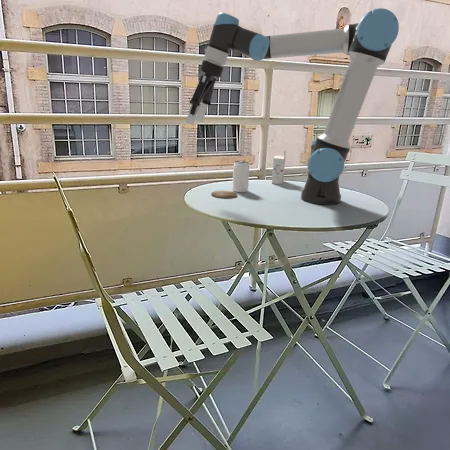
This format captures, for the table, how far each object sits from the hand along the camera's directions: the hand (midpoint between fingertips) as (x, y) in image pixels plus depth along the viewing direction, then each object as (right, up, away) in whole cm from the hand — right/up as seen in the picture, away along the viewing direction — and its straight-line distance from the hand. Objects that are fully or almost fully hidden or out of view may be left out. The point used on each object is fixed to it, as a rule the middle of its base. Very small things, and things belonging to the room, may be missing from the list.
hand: (194, 122), depth 143 cm
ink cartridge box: (+35, -18, +39) cm, 55 cm away
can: (+17, -24, +19) cm, 35 cm away
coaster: (+11, -26, +11) cm, 30 cm away
